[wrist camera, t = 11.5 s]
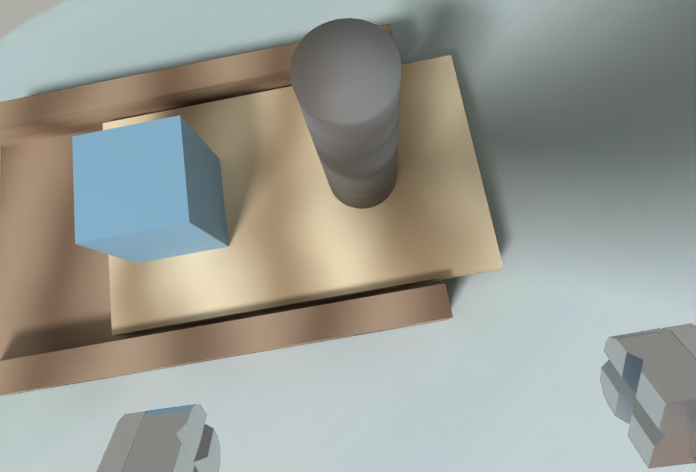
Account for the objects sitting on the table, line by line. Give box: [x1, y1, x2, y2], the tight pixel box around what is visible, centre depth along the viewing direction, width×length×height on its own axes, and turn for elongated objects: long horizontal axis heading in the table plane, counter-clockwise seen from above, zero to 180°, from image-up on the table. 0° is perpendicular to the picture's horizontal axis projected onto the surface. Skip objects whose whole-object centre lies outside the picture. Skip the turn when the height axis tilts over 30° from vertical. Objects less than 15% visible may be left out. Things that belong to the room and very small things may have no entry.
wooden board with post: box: [103, 18, 503, 336], centre depth 21 cm, size 20×12×11 cm, turn 99°
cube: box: [72, 115, 229, 263], centre depth 23 cm, size 5×5×5 cm
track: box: [0, 24, 453, 396], centre depth 26 cm, size 24×16×3 cm, turn 99°
